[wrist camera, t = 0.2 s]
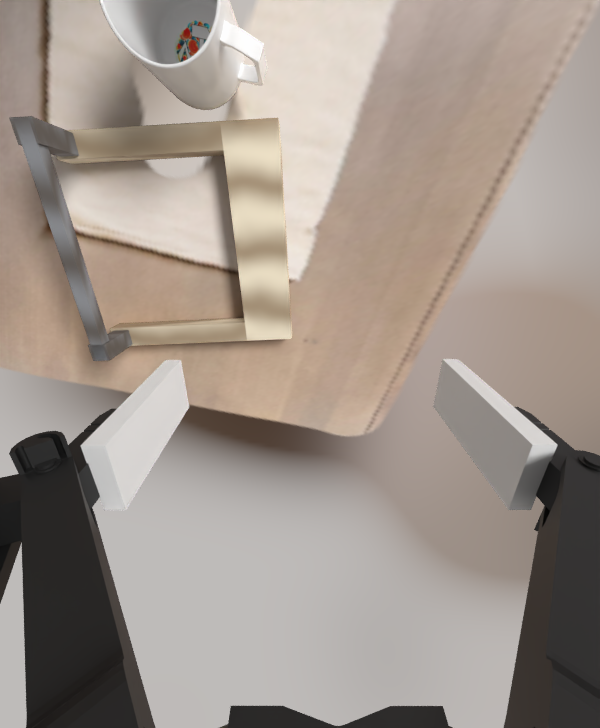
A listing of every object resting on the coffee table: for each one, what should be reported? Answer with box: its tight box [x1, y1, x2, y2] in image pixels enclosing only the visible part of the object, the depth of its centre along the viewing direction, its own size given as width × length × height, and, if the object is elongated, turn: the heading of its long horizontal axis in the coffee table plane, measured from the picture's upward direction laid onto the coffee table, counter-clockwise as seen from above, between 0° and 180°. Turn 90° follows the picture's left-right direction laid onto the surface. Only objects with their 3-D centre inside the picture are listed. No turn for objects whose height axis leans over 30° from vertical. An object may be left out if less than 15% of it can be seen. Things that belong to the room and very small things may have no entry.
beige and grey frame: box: [10, 116, 292, 361], centre depth 36 cm, size 24×24×8 cm
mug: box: [99, 0, 267, 110], centre depth 27 cm, size 12×9×11 cm
